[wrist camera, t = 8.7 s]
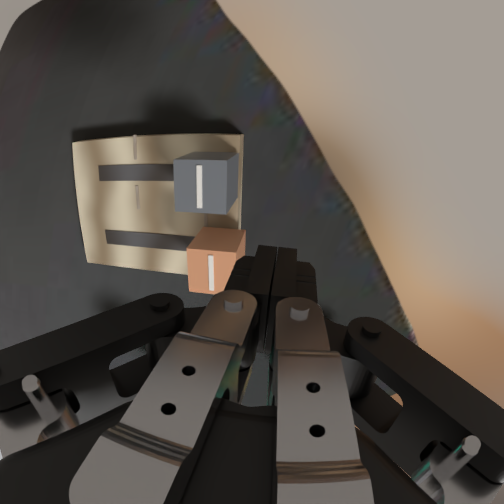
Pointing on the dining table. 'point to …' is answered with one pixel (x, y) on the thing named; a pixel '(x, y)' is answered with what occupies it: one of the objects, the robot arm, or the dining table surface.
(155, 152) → the panel
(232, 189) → the fader
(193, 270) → the block
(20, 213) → the dining table surface
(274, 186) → the dining table surface
